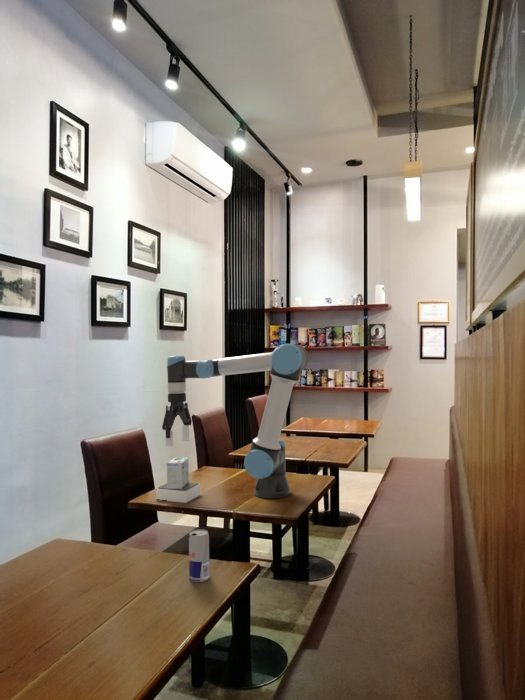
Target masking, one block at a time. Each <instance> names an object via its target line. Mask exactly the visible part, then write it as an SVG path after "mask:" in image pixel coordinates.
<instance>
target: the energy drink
mask: <svg viewBox="0 0 525 700" xmlns="http://www.w3.org/2000/svg"><path fill="white" fill-rule="evenodd" d="M210 569H211V568H210V535H209V531H208V530H206V529H199V528H198V529H194V530H192V531H190V532H189V533H188V571H189V572H188V573H189V574H188V577H189V580H190V581H191V582H193V583H204V582H207V581H208V580H209V579H210V578H211V575H210V574H211V573H210V572H211V571H210Z"/></svg>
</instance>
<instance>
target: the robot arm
mask: <svg viewBox="0 0 525 700" xmlns="http://www.w3.org/2000/svg"><path fill="white" fill-rule="evenodd" d="M166 363H167V365H166V368H167V369H166V371H167V372H166V373H167V392H168V393H167V402H168V403H170V405H166V406H165V414H164V418H163V422H162V425H161V429H162V430H163V431H165V446H166V447H173V446H174V443H173V429H172V428H173V425H174V422H175V420H176V418H177V416H178V417H180V420H181V422H182V424H183V425H182V441H185V442H186V441H187V442H188V441H190V426H191V425H192V422H193V421H192V417H191V413H190V409H189V406H188V404H189V403H188V402H186V401H187V394H186V392H187V388H186V387H187V384H186V383H187V382H186V379H210V378H214V377H220V376H222V377H223V376H230V375H239V374H241V375H242V374H249V373H259V372H267V371H269V375H270V377H271V383H270V387H269V391H268V396H267V399H266V401H265V402H266V403H265V406H264V410H263V414H262V418H261V421H260V425H259V430H258V433H257V436H256V437H255V438H253V439H252V441H251V445H250V449H249V451H248V452H247V454H246V456H245V457H244V462H243V463H244V464H243V466H244V468H245V470H246V472H247V474H248V475H250V477H252V478H254V479H256V483H255V486H254V495H255V497H258V498H262V499H271V500H272V499H281V498H286V497H288V496H290V495H291V487H290V483H289V482H288V479H287V475H286V474H287V473H286V443H285V441H284V440H283V439H280V437H281V435H282V434H281V433H282V429H283V427H284V421H285V418H286V414H287V410H288V407H289V403H290V400H291V396H292V392H293V387H294V385H295V384H296V383H298V382H300V381H299V380H300V376H301V373H302V371H303V370H304V369H305V368H307V366H308V363H309V353H308V352H307V350H306V349H305V348H304V347H303V346H301V345H300V344H295V343H294V344H293V343H287V342H286V343H282V344H281V345H278V346H277V347H275V349H274V350H273V351H271V352H262V353H256V354H255V353H254V354H246V355H239V356H230V357H229V356H228V357H223V358H221V357H220V358H214V359H213V358H212V359H194V360H193V359H191V360H186V357H185V356H184V355H171V356H168V357H167V362H166ZM289 494H290V495H289Z"/></svg>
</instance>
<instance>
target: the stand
mask: <svg viewBox="0 0 525 700" xmlns="http://www.w3.org/2000/svg"><path fill="white" fill-rule="evenodd" d="M155 492H156V499H160V500H159V501H162V500H167V501H166V502H175V503H189V502H190V501H192V500H194V499H196V498H198V497H200V496H201V484H200V483H199V482H189V483H187V484H186V485H185V486H184V487H183V488H182V489H167V483H165V484H163V485H160V486H159V487H157V488H156V491H155Z"/></svg>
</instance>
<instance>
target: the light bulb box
mask: <svg viewBox="0 0 525 700" xmlns="http://www.w3.org/2000/svg"><path fill="white" fill-rule="evenodd" d="M189 477H190V475H189V457H173V458H172V459H170V460H169V461H167V462H166V484H167V489H182V488H183V487H184V486H185V485H186V484H187V483H190V482H189V481H190V478H189Z"/></svg>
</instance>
